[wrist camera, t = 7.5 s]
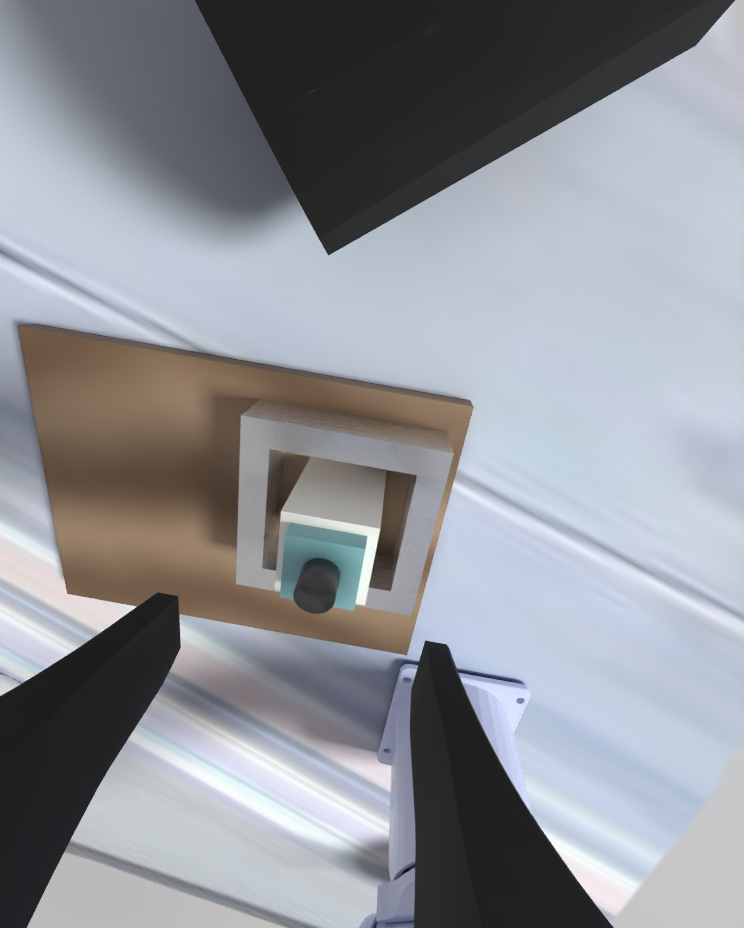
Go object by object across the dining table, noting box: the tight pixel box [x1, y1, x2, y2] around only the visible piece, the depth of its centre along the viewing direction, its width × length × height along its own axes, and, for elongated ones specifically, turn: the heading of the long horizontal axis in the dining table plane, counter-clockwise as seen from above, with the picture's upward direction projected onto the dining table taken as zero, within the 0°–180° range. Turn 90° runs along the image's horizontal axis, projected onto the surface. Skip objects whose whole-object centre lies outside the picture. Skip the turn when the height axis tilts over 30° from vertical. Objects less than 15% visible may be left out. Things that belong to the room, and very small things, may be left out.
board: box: [18, 324, 473, 655], centre depth 21 cm, size 15×20×1 cm
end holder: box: [236, 399, 454, 616], centre depth 19 cm, size 8×8×2 cm
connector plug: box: [275, 457, 387, 614], centre depth 17 cm, size 4×4×7 cm
